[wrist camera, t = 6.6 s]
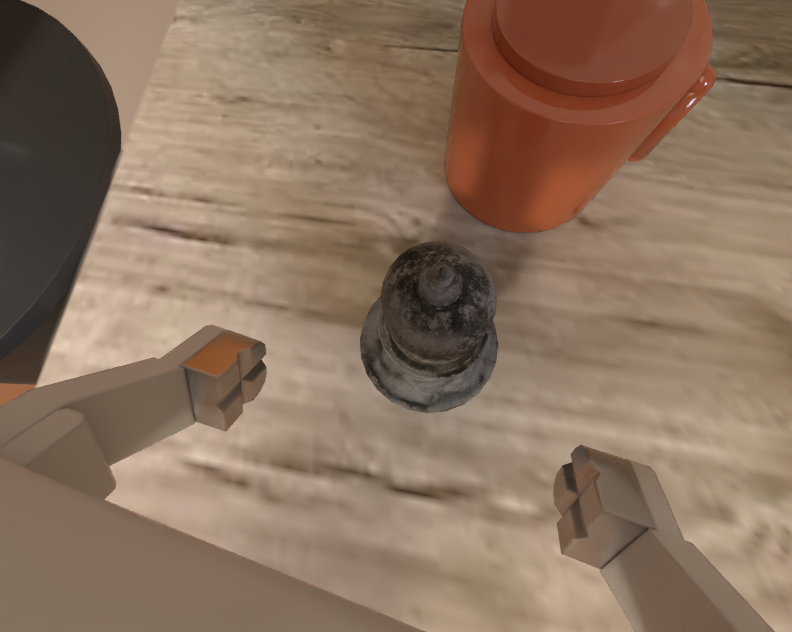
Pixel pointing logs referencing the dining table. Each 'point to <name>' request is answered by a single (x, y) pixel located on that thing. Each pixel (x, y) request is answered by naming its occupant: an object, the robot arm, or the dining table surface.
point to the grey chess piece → (432, 329)
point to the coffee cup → (566, 99)
